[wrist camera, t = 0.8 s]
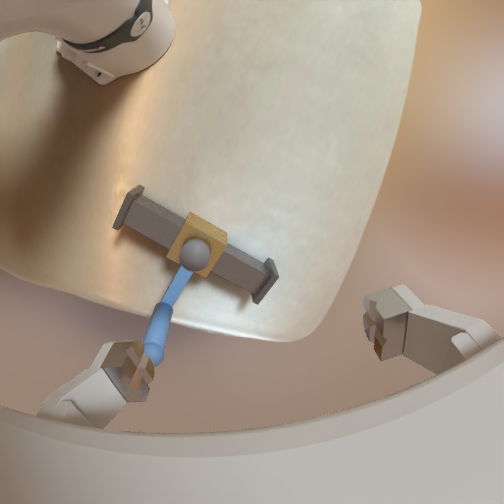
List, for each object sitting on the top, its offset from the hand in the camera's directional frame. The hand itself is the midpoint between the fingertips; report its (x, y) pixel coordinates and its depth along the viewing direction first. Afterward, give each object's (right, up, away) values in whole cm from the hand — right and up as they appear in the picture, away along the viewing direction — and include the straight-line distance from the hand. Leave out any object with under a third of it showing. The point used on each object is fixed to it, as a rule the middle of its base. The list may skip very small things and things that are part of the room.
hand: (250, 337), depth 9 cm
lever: (-11, -1, +33) cm, 35 cm away
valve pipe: (-9, +5, +36) cm, 38 cm away
